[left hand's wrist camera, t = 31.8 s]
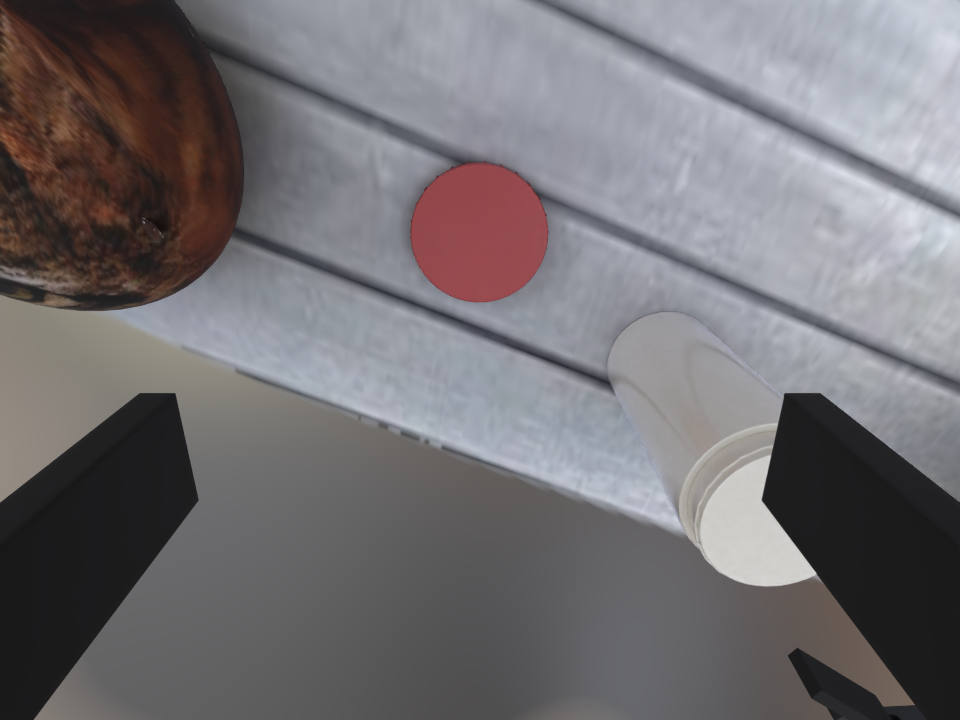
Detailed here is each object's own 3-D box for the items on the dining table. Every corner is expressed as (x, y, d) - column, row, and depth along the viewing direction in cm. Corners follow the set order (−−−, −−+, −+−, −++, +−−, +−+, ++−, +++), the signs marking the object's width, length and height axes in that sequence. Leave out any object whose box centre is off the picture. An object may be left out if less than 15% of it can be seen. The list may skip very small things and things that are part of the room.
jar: (591, 397, 45) (664, 572, 27) (629, 298, 42) (738, 423, 24) (690, 422, 46) (822, 607, 28) (734, 327, 43) (912, 467, 25)
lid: (397, 272, 41) (393, 279, 40) (435, 141, 38) (432, 142, 36) (519, 311, 43) (520, 320, 41) (565, 187, 39) (569, 190, 37)
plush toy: (-253, 82, 32) (-688, -282, 15) (58, -25, 40) (5, -345, 23) (56, 390, 38) (-1, 382, 21) (272, 246, 46) (357, 155, 29)
